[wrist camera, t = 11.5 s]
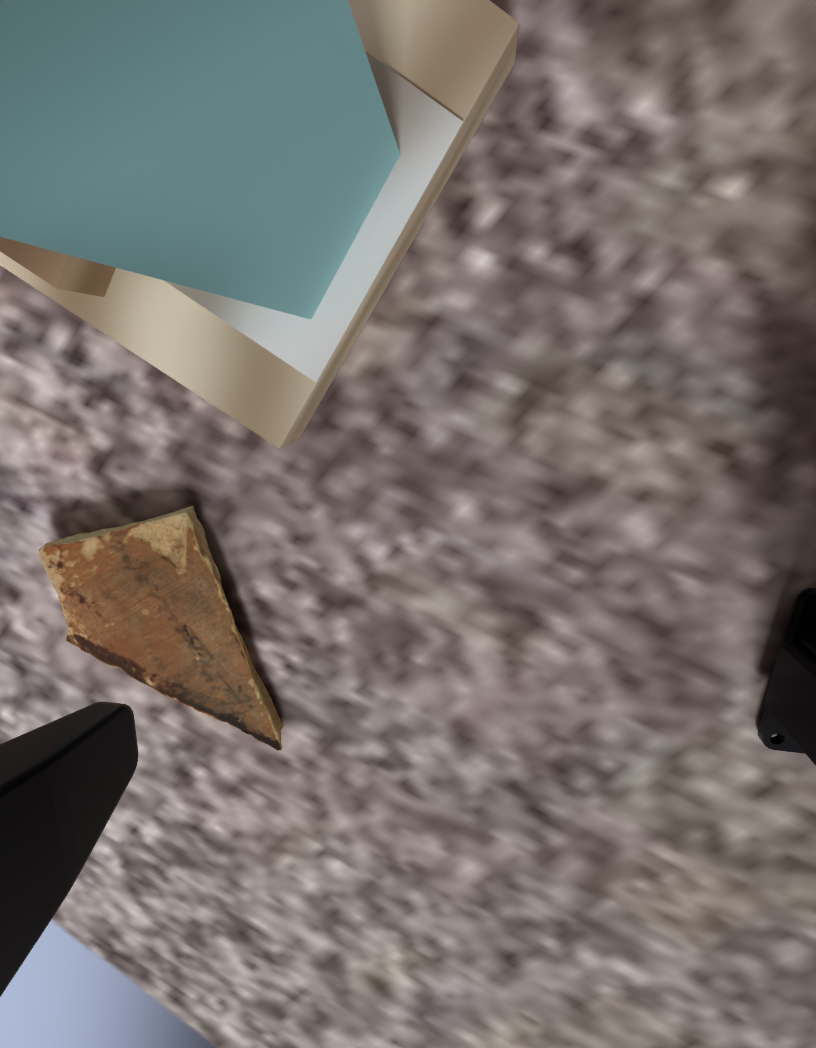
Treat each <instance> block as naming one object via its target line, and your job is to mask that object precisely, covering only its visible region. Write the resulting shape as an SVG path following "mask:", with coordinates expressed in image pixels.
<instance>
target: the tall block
mask: <svg viewBox="0 0 816 1048" xmlns="http://www.w3.org/2000/svg"><path fill="white" fill-rule="evenodd" d="M399 156H400V152H399V149H398V146H397V143H396V140H395V137H394V134H393V131H392V128H391V125H390V123H389V120H388V117H387V114H386V111H385V108H384V105H383V102H382V99H381V96H380V93H379V90H378V87H377V84H376V82H375V79H374V76H373V73H372V70H371V67H370V64H369V61H368V58H367V55H366V52H365V49H364V46H363V43H362V41H361V38H360V35H359V32H358V29H357V26H356V23H355V20H354V17H353V14H352V11H351V8H350V5H349V2H348V0H0V237H3V238H7V239H10V240H14V241H18V242H22V243H25V244H29V245H33V246H37V247H40V248H44V249H48V250H52V251H55V252H59V253H63V254H67V255H70V256H74V257H78V258H82V259H85V260H89V261H93V262H97V263H100V264H104V265H108V266H112V267H115V268H119V269H123V270H127V271H130V272H134V273H138V274H142V275H145V276H149V277H153V278H157V279H160V280H164V281H168V282H172V283H175V284H179V285H183V286H187V287H190V288H194V289H198V290H202V291H205V292H209V293H213V294H217V295H220V296H224V297H228V298H232V299H235V300H239V301H243V302H247V303H250V304H254V305H258V306H262V307H265V308H269V309H273V310H277V311H280V312H284V313H288V314H292V315H295V316H299V317H303V318H307V319H310V320H311V319H312V317H313V316H314V314H315V312H316V310H317V308H318V306H319V304H320V303H321V301H322V299H323V297H324V295H325V293H326V291H327V290H328V288H329V286H330V284H331V282H332V280H333V278H334V277H335V275H336V273H337V271H338V269H339V267H340V265H341V264H342V262H343V260H344V258H345V256H346V254H347V252H348V251H349V249H350V247H351V245H352V243H353V241H354V239H355V238H356V236H357V234H358V232H359V230H360V228H361V226H362V225H363V223H364V221H365V219H366V217H367V215H368V214H369V212H370V210H371V208H372V206H373V204H374V202H375V201H376V199H377V197H378V195H379V193H380V191H381V189H382V188H383V186H384V184H385V182H386V180H387V178H388V176H389V175H390V173H391V171H392V169H393V167H394V165H395V163H396V162H397V160H398V158H399Z"/></svg>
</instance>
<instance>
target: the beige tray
mask: <svg viewBox="0 0 816 1048" xmlns="http://www.w3.org/2000/svg"><path fill="white" fill-rule="evenodd" d="M348 2H349V5H350V8H351V11H352V14H353V17H354V20H355V23H356V26H357V29H358V32H359V35H360V38H361V41H362V43H363V46H364V49H365V52H366V55H367V58H368V61H369V64H370V67H371V70H372V73H373V76H374V79H375V82H376V84H377V87H378V90H379V93H380V96H381V99H382V102H383V105H384V108H385V111H386V114H387V117H388V120H389V123H390V125H391V128H392V131H393V134H394V137H395V140H396V143H397V146H398V149H399V152H400V156H399V158H398V160H397V162H396V163H395V165H394V167H393V169H392V171H391V173H390V175H389V176H388V178H387V180H386V182H385V184H384V186H383V188H382V189H381V191H380V193H379V195H378V197H377V199H376V201H375V202H374V204H373V206H372V208H371V210H370V212H369V214H368V215H367V217H366V219H365V221H364V223H363V225H362V226H361V228H360V230H359V232H358V234H357V236H356V238H355V239H354V241H353V243H352V245H351V247H350V249H349V251H348V252H347V254H346V256H345V258H344V260H343V262H342V264H341V265H340V267H339V269H338V271H337V273H336V275H335V277H334V278H333V280H332V282H331V284H330V286H329V288H328V290H327V291H326V293H325V295H324V297H323V299H322V301H321V303H320V304H319V306H318V308H317V310H316V312H315V314H314V316H313V317H312V319H311V320H310V319H307V318H303V317H299V316H295V315H292V314H288V313H284V312H280V311H277V310H273V309H269V308H265V307H262V306H258V305H254V304H250V303H247V302H243V301H239V300H235V299H232V298H228V297H224V296H220V295H217V294H213V293H209V292H205V291H202V290H198V289H194V288H190V287H187V286H183V285H179V284H175V283H172V282H168V281H164V280H160V279H157V278H153V277H149V276H145V275H142V274H138V273H134V272H130V271H127V270H123V269H119V268H115V267H112V266H108V265H104V264H100V263H97V262H93V261H89V260H85V259H82V258H78V257H74V256H70V255H67V254H63V253H59V252H55V251H52V250H48V249H44V248H40V247H37V246H33V245H29V244H25V243H22V242H18V241H14V240H10V239H7V238H3V237H0V265H1V266H2V267H4V268H5V269H7V270H8V271H10V272H11V273H13V274H15V275H16V276H18V277H19V278H21V279H22V280H24V281H25V282H27V283H28V284H30V285H31V286H33V287H34V288H36V289H37V290H39V291H40V292H42V293H43V294H45V295H46V296H48V297H50V298H51V299H53V300H54V301H56V302H57V303H59V304H60V305H62V306H63V307H65V308H66V309H68V310H69V311H71V312H72V313H74V314H75V315H77V316H78V317H80V318H82V319H83V320H85V321H86V322H88V323H89V324H91V325H92V326H94V327H95V328H97V329H98V330H100V331H101V332H103V333H104V334H106V335H107V336H109V337H110V338H112V339H113V340H115V341H117V342H118V343H120V344H121V345H123V346H124V347H126V348H127V349H129V350H130V351H132V352H133V353H135V354H136V355H138V356H139V357H141V358H142V359H144V360H145V361H147V362H149V363H150V364H152V365H153V366H155V367H156V368H158V369H159V370H161V371H162V372H164V373H165V374H167V375H168V376H170V377H171V378H173V379H174V380H176V381H177V382H179V383H180V384H182V385H184V386H185V387H187V388H188V389H190V390H191V391H193V392H194V393H196V394H197V395H199V396H200V397H202V398H203V399H205V400H206V401H208V402H209V403H211V404H212V405H214V406H215V407H217V408H219V409H220V410H222V411H223V412H225V413H226V414H228V415H229V416H231V417H232V418H234V419H235V420H237V421H238V422H240V423H241V424H243V425H244V426H246V427H247V428H249V429H251V430H252V431H254V432H255V433H257V434H258V435H260V436H261V437H263V438H264V439H266V440H267V441H269V442H270V443H272V444H273V445H275V446H276V447H278V448H279V449H280V448H282V447H284V446H287V445H289V444H291V443H293V442H295V441H298V440H299V438H300V437H301V435H302V433H303V431H304V430H305V428H306V426H307V425H308V423H309V421H310V419H311V418H312V416H313V414H314V412H315V411H316V409H317V407H318V405H319V404H320V402H321V400H322V398H323V397H324V395H325V393H326V391H327V390H328V388H329V386H330V384H331V383H332V381H333V379H334V377H335V376H336V374H337V372H338V371H339V369H340V367H341V365H342V364H343V362H344V360H345V358H346V357H347V355H348V353H349V351H350V350H351V348H352V346H353V344H354V343H355V341H356V339H357V337H358V336H359V334H360V332H361V330H362V329H363V327H364V325H365V324H366V322H367V320H368V318H369V317H370V315H371V313H372V311H373V310H374V308H375V306H376V304H377V303H378V301H379V299H380V297H381V296H382V294H383V292H384V290H385V289H386V287H387V285H388V283H389V282H390V280H391V278H392V276H393V275H394V273H395V271H396V270H397V268H398V266H399V264H400V263H401V261H402V259H403V257H404V256H405V254H406V252H407V250H408V249H409V247H410V245H411V243H412V242H413V240H414V238H415V236H416V235H417V233H418V231H419V229H420V228H421V226H422V224H423V222H424V221H425V219H426V217H427V216H428V214H429V212H430V210H431V209H432V207H433V205H434V203H435V202H436V200H437V198H438V196H439V195H440V193H441V191H442V189H443V188H444V186H445V184H446V182H447V181H448V179H449V177H450V175H451V174H452V172H453V170H454V169H455V167H456V165H457V163H458V162H459V160H460V158H461V156H462V155H463V153H464V151H465V149H466V148H467V146H468V144H469V142H470V141H471V139H472V137H473V135H474V134H475V132H476V130H477V128H478V127H479V125H480V123H481V121H482V120H483V118H484V116H485V115H486V113H487V111H488V109H489V108H490V106H491V104H492V102H493V101H494V99H495V97H496V95H497V94H498V92H499V90H500V88H501V87H502V85H503V83H504V81H505V80H506V78H507V76H508V74H509V73H510V71H511V69H512V67H513V66H514V61H515V54H516V47H517V40H518V33H519V26H520V23H519V22H518V21H517V20H515V19H514V18H513V17H511V16H510V15H509V14H507V13H506V12H505V11H503V10H502V9H501V8H499V7H498V6H497V5H495V4H494V3H493V2H491V1H490V0H348Z"/></svg>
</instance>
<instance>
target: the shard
mask: <svg viewBox="0 0 816 1048" xmlns="http://www.w3.org/2000/svg"><path fill="white" fill-rule="evenodd" d="M39 556H40V558H41V561H42V563H43V565H44V568H45V570H46V571H47V573H48V575H49V578H50V580H51V581H52V583H53V587H54V588H55V590H56V592H57V594H58V596H59V601H60V603H61V605H62V610H63V614H64V616H65V618H66V624H67V626H68V628H69V630H68V634H67V638H66V641H68V642H70V643H71V644H73V645H75V646H77V647H79V648H80V649H81V650H82V651H84V652H87V653H89V654H91V655H92V656H94V657H95V658H97V659H98V660H100V661H102V662H104V663H106V664H108V665H110V666H114V667H118V668H121V669H122V670H124V671H125V673H126V674H128V675H129V676H130V677H132V678H134V679H136V680H138V681H139V682H141V683H144V684H146V685H148V686H150V687H151V688H153V689H155V690H156V691H158V692H160V693H161V694H163V695H165V696H167V697H170V698H172V699H175V700H177V701H178V702H180V703H182V704H185V705H187V706H189V707H191V708H193V709H195V710H196V711H199V712H202V713H204V714H206V715H209V716H211V717H213V718H215V719H217V720H220V721H223V722H226V723H228V724H230V725H232V726H234V727H237V728H239V729H241V730H242V731H243V732H245V733H247V734H250V735H252V736H253V737H254V738H256V739H257V740H258V741H260V742H263V743H265V744H268V745H270V746H271V747H273V748H275V749H276V750H281V749H282V746H281V729H282V728H283V727H284V726H283V724H282V721H281V719H280V718H279V716H278V714H277V711H276V708H275V707H274V705H273V701H272V699H271V697H270V696H269V693H268V691H267V690H266V688H265V686H264V684H263V683H262V681H261V679H260V677H259V675H258V673H257V671H256V669H255V667H254V665H253V663H252V660H251V658H250V656H249V653H248V650H247V648H246V646H245V644H244V642H243V638H242V636H241V634H240V633H239V631H238V629H237V627H236V625H235V621H234V618H233V615H232V612H231V609H230V607H229V604H228V602H227V599H226V596H225V594H224V590H223V588H222V584H221V581H220V574H219V571H218V568H217V566H216V564H215V563H214V561H213V558H212V555H211V552H210V551H209V547H208V543H207V540H206V537H205V531H204V528H203V526H202V524H201V523H200V521H199V520H198V519H197V516H196V513H195V509H194V507H193V506H190V507H187V508H183V509H180V510H177V511H175V512H172V513H168V514H165V515H161V516H158V517H154V518H151V519H148V520H145V521H141V522H135V523H129V524H127V525H124V526H119V527H114V528H107V529H100V530H98V531H93V532H91V533H78V534H75V535H73V536H69V537H66V538H64V539H58V540H55V541H52V542H50V543H47V544H45V545H44V546H43V547H42V548H40V549H39Z"/></svg>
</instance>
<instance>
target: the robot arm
mask: <svg viewBox="0 0 816 1048" xmlns="http://www.w3.org/2000/svg"><path fill="white" fill-rule="evenodd" d="M815 600H816V588H809V589H806V590H804V591H803V592H802V593H800V594H799V596H798V598H797V600H796V603H795V607H794V610H793V613H792V617H791V620H790V623H789V627H788V630H787V634H786V637H785V640H784V643H783V645H782V646H781V647H780V649H779V652H778V656H777V659H776V662H775V666H774V669H773V673H772V676H771V679H770V683H769V686H768V689H767V693H766V696H765V700H764V705H765V708H764V711H763V715H762V718H761V721H760V725H759V728H758V736H759V738H760V739H761V741H762V742H763V743H764V745H765V746H766V747H768V748H769V749H773V750H780V751H788V752H797V753H805V754H806V755H807V756H808V757H809V758H810V759H811V761H812V762H813V763H814V764H815V765H816V606H815V607H811V604H812V602H813V601H815ZM775 733H778V735H777V736H775V737H771V736H772V735H773V734H775ZM137 762H138V746H137V738H136V730H135V721H134V714H133V711H132V709H131V708H130V706H128V705H126V704H120V703H111V702H97V703H94V704H92V705H90V706H87V707H85V708H83V709H80V710H78V711H76V712H73V713H71V714H69V715H67V716H64V717H62V718H60V719H57V720H55V721H53V722H51V723H48V724H46V725H44V726H41V727H39V728H37V729H34V730H32V731H30V732H28V733H25V734H23V735H21V736H18V737H16V738H14V739H11V740H9V741H7V742H5V743H2V744H0V996H1V995H2V994H3V992H4V990H5V989H6V987H7V986H8V984H9V983H10V981H11V980H12V978H13V977H14V975H15V974H16V972H17V971H18V969H19V967H20V966H21V965H22V963H23V962H24V960H25V958H26V957H27V955H28V954H29V952H30V951H31V949H32V948H33V946H34V945H35V943H36V942H37V940H38V939H39V937H40V936H41V934H42V933H43V931H44V930H45V928H46V926H47V925H48V924H49V922H50V921H51V919H52V918H53V916H54V915H55V913H56V911H57V910H58V908H59V907H60V905H61V904H62V902H63V900H64V899H65V897H66V896H67V894H68V892H69V891H70V889H71V887H72V886H73V884H74V882H75V881H76V879H77V877H78V875H79V874H80V872H81V870H82V868H83V866H84V865H85V863H86V861H87V859H88V857H89V855H90V854H91V852H92V850H93V848H94V846H95V844H96V842H97V841H98V839H99V837H100V835H101V833H102V831H103V830H104V828H105V826H106V824H107V822H108V820H109V819H110V817H111V815H112V813H113V811H114V809H115V807H116V806H117V804H118V802H119V800H120V798H121V796H122V795H123V793H124V791H125V789H126V787H127V785H128V783H129V782H130V780H131V778H132V776H133V774H134V772H135V769H136V766H137Z"/></svg>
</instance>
